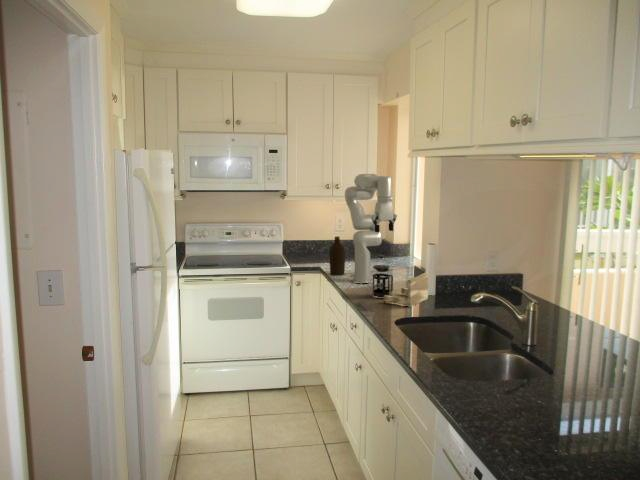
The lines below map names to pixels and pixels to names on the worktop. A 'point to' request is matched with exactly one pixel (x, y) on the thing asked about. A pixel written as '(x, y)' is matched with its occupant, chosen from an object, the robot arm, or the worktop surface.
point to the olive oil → (337, 258)
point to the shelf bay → (412, 291)
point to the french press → (382, 285)
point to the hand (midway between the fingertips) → (384, 231)
